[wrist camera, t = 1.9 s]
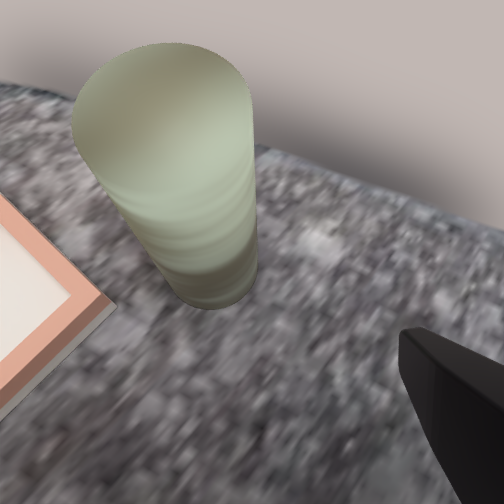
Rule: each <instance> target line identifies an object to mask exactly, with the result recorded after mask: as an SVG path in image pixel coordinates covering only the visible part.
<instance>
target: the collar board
mask: <svg viewBox="0 0 504 504" xmlns="http://www.w3.org/2000/svg"><path fill="white" fill-rule="evenodd" d="M116 308H117V306H116V305H115V304H114V303H113V302H112V301H111V300H110V299H109V298H108V297H107V296H106V295H105V294H104V293H103V292H102V291H101V290H100V289H99V288H98V287H97V286H96V285H95V284H94V283H93V282H92V281H91V280H90V279H89V278H88V277H87V276H86V275H85V274H84V273H83V272H82V271H81V270H80V269H79V268H78V267H77V266H76V265H75V264H73V263H72V262H71V261H70V260H69V259H68V258H67V257H66V256H65V255H64V254H63V253H62V252H61V251H60V250H59V249H58V248H57V247H56V246H55V245H54V244H53V243H52V242H51V241H50V240H49V239H48V238H47V237H46V236H45V235H44V234H43V233H42V232H41V231H40V230H39V229H38V228H37V227H36V226H35V225H34V224H33V223H32V222H31V221H30V220H28V219H27V218H26V217H25V216H24V215H23V214H22V213H21V212H20V211H19V210H18V209H17V208H16V207H15V206H14V205H13V204H12V203H11V202H10V201H9V200H8V199H7V198H6V197H5V196H4V195H3V194H2V193H1V192H0V421H1V420H2V419H3V418H4V417H5V416H6V415H7V414H9V413H10V412H11V411H12V410H13V409H14V408H15V407H16V406H17V405H18V404H19V403H20V402H21V401H22V400H23V399H24V398H25V397H26V396H27V395H28V394H29V393H30V392H31V391H32V390H33V389H34V388H35V387H36V386H37V385H38V384H39V383H40V382H41V381H42V380H43V379H44V378H45V377H46V376H47V375H48V374H50V373H51V372H52V371H53V370H54V369H55V368H56V367H57V366H58V365H59V364H60V363H61V362H62V361H63V360H64V359H65V358H66V357H67V356H68V355H69V354H70V353H71V352H72V351H73V350H74V349H75V348H76V347H77V346H78V345H79V344H80V343H81V342H82V341H83V340H84V339H85V338H86V337H87V336H88V335H89V334H90V333H92V332H93V331H94V330H95V329H96V328H97V327H98V326H99V325H100V324H101V323H102V322H103V321H104V320H105V319H106V318H107V317H108V316H109V315H110V314H111V313H112V312H113V311H114V310H115V309H116Z"/></svg>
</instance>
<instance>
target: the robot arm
mask: <svg viewBox="0 0 504 504" xmlns="http://www.w3.org/2000/svg"><path fill="white" fill-rule="evenodd" d="M398 366H399V372H400V375H401V378H402V380H403V383H404V385H405V387H406V390H407V392H408V395H409V397H410V399H411V402H412V404H413V407H414V409H415V411H416V414H417V416H418V418H419V421H420V423H421V426H422V428H423V430H424V433H425V435H426V437H427V440H428V442H429V444H430V446H431V448H432V450H433V452H434V454H435V456H436V458H437V460H438V462H439V463H440V465H441V467H442V469H443V471H444V473H445V474H446V476H447V478H448V480H449V482H450V483H451V485H452V487H453V489H454V491H455V492H456V494H457V496H458V498H459V500H460V501H461V503H462V504H504V365H502V364H500V363H498V362H495V361H493V360H491V359H489V358H487V357H485V356H483V355H481V354H478V353H476V352H474V351H472V350H470V349H468V348H466V347H464V346H461V345H459V344H457V343H455V342H453V341H451V340H449V339H447V338H444V337H442V336H440V335H438V334H436V333H434V332H432V331H430V330H427V329H425V328H423V327H415V328H408V329H403V330H402V331H401V332H400V334H399V355H398Z"/></svg>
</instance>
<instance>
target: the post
mask: <svg viewBox="0 0 504 504" xmlns="http://www.w3.org/2000/svg"><path fill="white" fill-rule="evenodd" d="M71 127H72V135H73V139H74V142H75V145H76V147H77V149H78V152H79V154H80V155H81V157H82V158H83V160H84V161H85V162H86V164H87V165H88V167H89V168H90V170H91V171H92V173H93V174H94V176H95V177H96V179H97V180H98V181H99V183H100V184H101V186H102V187H103V189H104V190H105V192H106V193H107V195H108V196H109V198H110V199H111V200H112V202H113V203H114V205H115V206H116V208H117V209H118V211H119V212H120V214H121V215H122V217H123V218H124V219H125V221H126V222H127V224H128V225H129V227H130V228H131V230H132V231H133V233H134V234H135V236H136V237H137V238H138V240H139V241H140V243H141V244H142V246H143V247H144V249H145V250H146V252H147V253H148V255H149V256H150V257H151V259H152V260H153V262H154V263H155V265H156V266H157V268H158V269H159V271H160V272H161V274H162V275H163V276H164V278H165V279H166V281H167V282H168V284H169V285H170V287H171V288H172V290H173V291H174V292H175V294H176V295H177V296H178V297H179V298H180V299H181V300H183V301H184V302H185V303H187V304H189V305H191V306H193V307H196V308H200V309H206V310H215V309H221V308H225V307H228V306H230V305H232V304H234V303H236V302H238V301H239V300H240V299H242V298H243V297H244V296H245V295H246V294H247V293H248V291H249V290H250V289H251V287H252V285H253V284H254V281H255V279H256V276H257V271H258V247H257V219H256V191H255V164H254V136H253V108H252V100H251V95H250V92H249V88H248V86H247V84H246V82H245V80H244V78H243V77H242V76H241V74H240V73H239V71H237V69H236V68H235V67H234V66H233V65H232V64H231V63H229V62H228V61H227V60H225V59H224V58H223V57H221V56H219V55H218V54H216V53H214V52H212V51H209V50H207V49H204V48H201V47H198V46H194V45H189V44H182V43H160V44H152V45H147V46H142V47H139V48H136V49H133V50H130V51H128V52H125V53H123V54H121V55H119V56H117V57H115V58H114V59H112V60H110V61H109V62H107V63H106V64H105V65H103V66H102V67H101V68H100V69H98V70H97V71H96V72H95V73H94V74H93V75H92V76H91V77H90V79H89V80H88V81H87V82H86V84H85V85H84V86H83V88H82V89H81V91H80V93H79V95H78V97H77V99H76V102H75V105H74V108H73V113H72V124H71Z"/></svg>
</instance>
